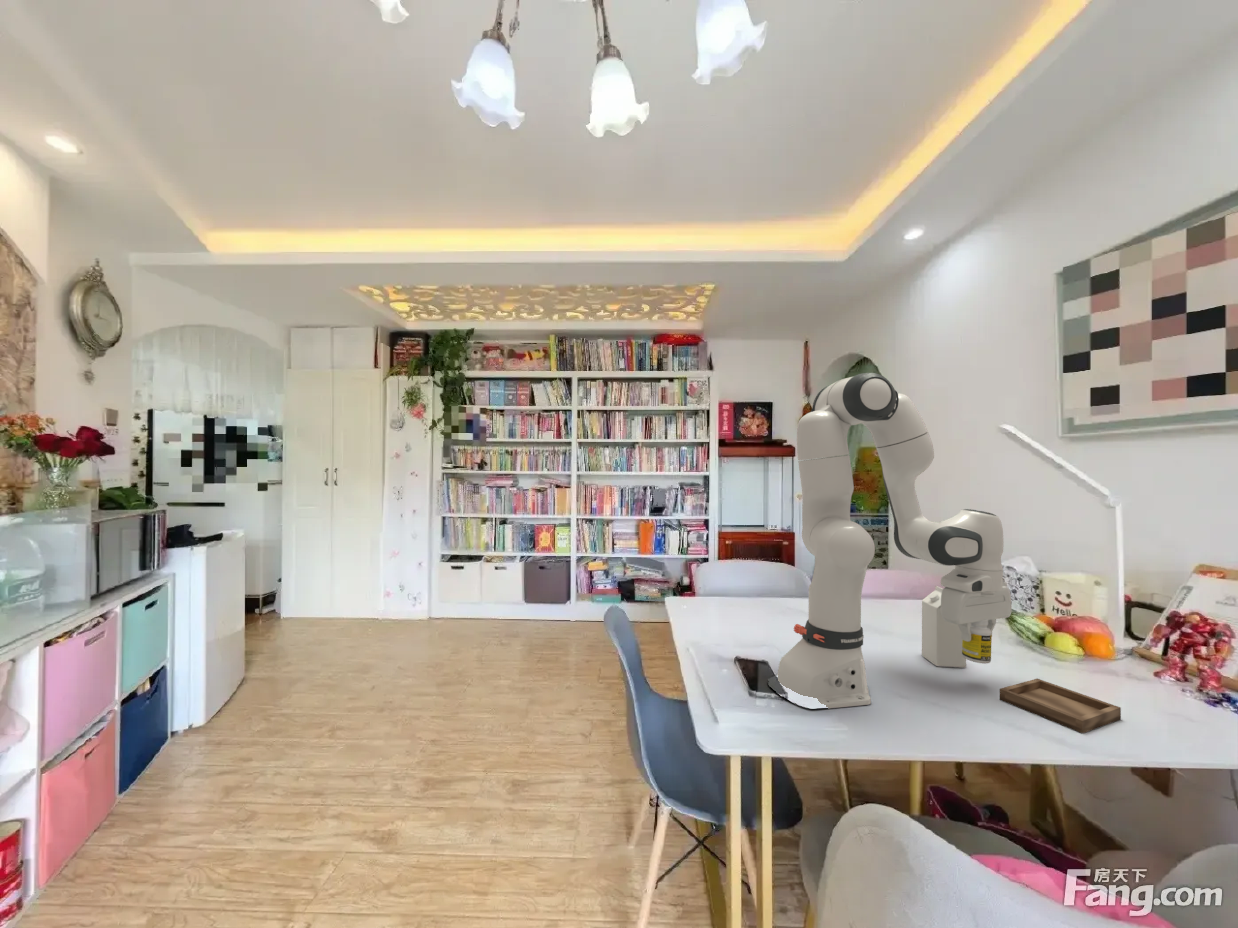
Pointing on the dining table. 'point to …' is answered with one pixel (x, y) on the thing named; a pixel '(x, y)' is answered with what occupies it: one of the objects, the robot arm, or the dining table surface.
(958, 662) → the milk carton
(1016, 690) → the tray
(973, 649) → the supplement bottle
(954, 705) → the dining table surface
